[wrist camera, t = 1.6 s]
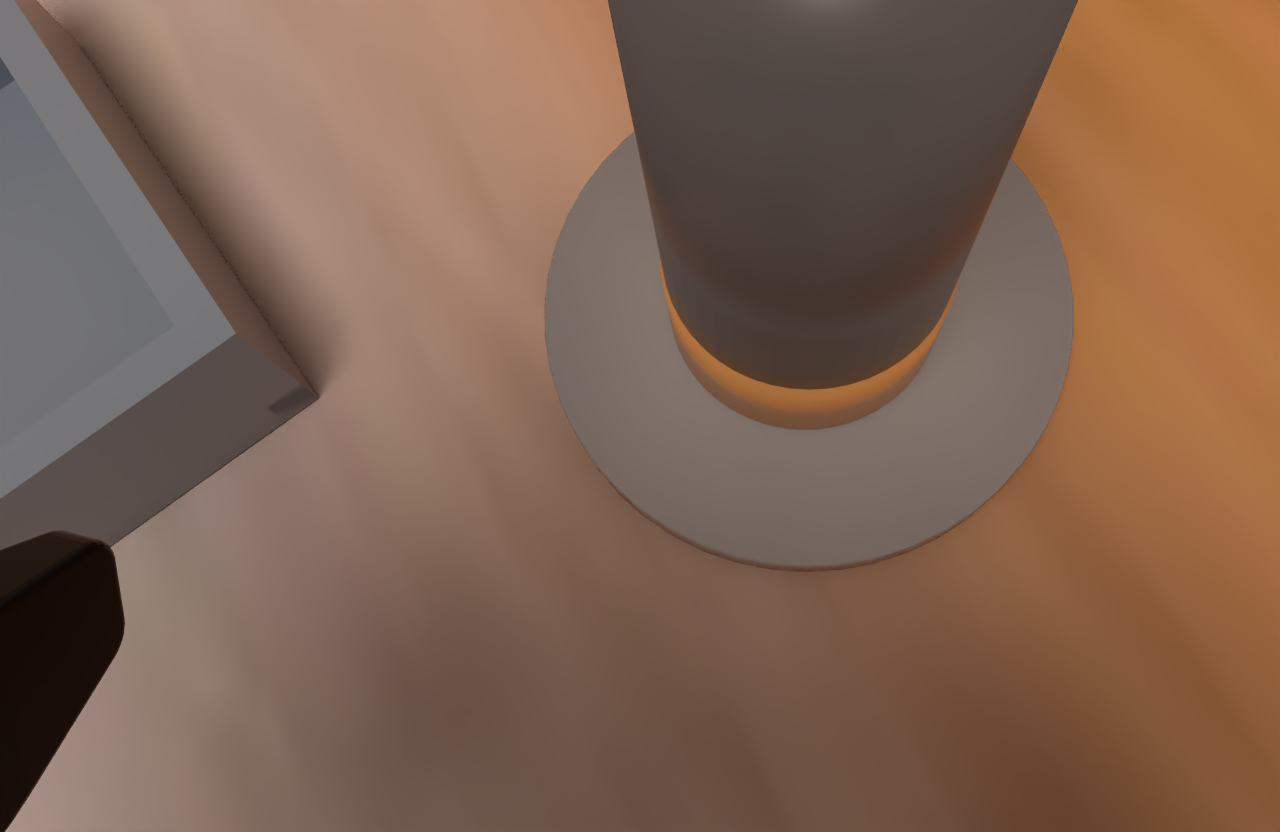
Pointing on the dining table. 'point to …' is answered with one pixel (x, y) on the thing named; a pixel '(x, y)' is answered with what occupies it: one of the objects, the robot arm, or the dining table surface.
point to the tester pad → (813, 458)
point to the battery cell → (823, 180)
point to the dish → (111, 310)
